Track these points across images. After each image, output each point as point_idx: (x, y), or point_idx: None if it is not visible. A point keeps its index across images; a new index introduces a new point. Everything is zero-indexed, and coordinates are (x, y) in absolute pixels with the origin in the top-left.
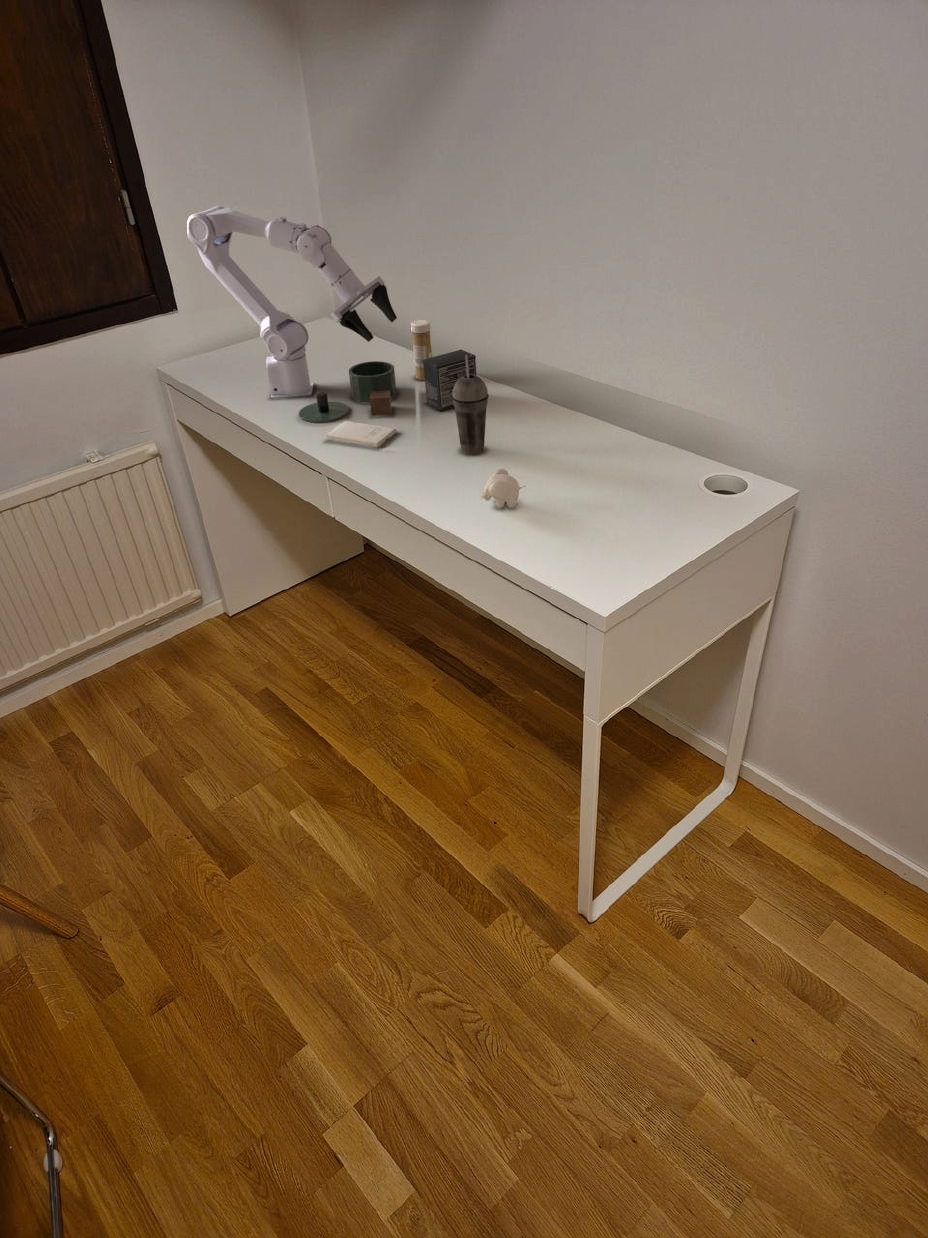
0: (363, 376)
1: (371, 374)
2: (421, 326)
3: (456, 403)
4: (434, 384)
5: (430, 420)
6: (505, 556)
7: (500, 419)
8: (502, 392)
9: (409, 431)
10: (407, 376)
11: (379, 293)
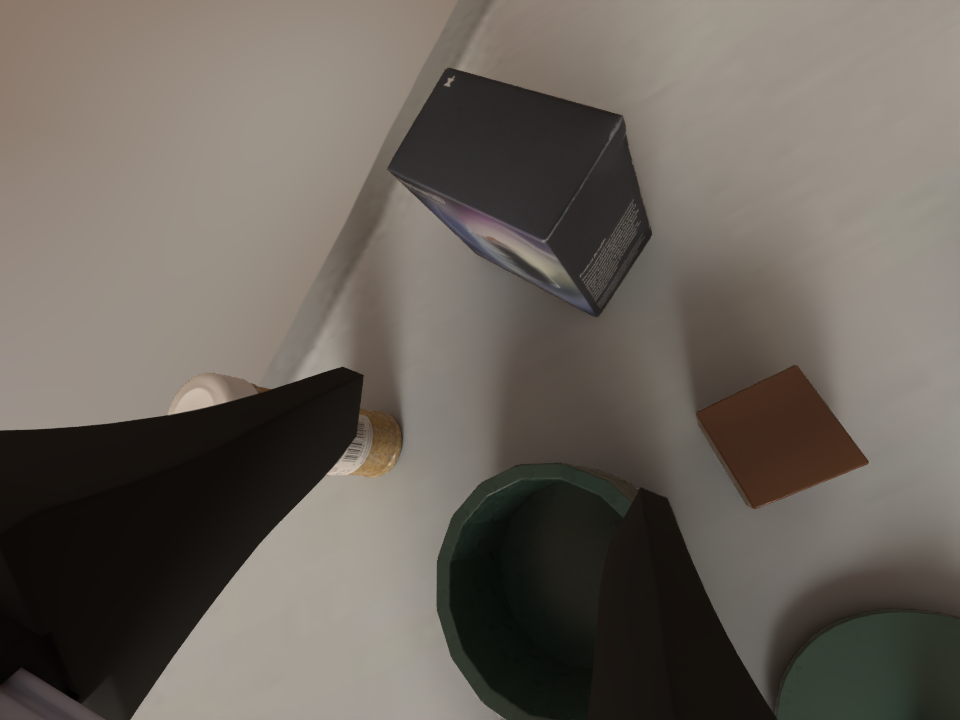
0: None
1: (487, 622)
2: (233, 394)
3: None
4: (623, 204)
5: (753, 217)
6: None
7: (647, 34)
8: None
9: (920, 224)
10: (374, 513)
11: (98, 508)
